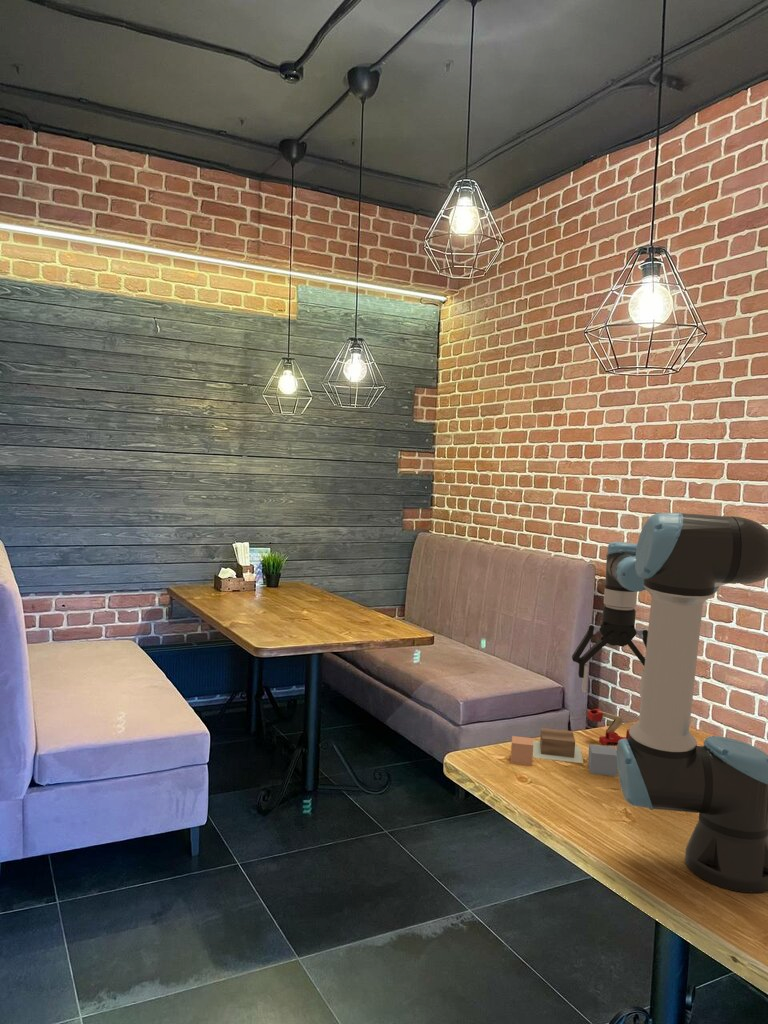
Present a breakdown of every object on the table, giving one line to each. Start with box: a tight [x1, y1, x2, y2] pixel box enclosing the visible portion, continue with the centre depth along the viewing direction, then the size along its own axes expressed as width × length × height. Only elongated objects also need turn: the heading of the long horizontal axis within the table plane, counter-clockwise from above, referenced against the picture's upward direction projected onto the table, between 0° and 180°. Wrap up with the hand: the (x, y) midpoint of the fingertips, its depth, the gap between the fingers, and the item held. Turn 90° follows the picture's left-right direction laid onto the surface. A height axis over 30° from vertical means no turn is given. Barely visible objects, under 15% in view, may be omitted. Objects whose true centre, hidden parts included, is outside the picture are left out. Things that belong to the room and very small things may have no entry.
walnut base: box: [539, 727, 576, 758], centre depth 191 cm, size 8×8×4 cm
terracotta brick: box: [510, 735, 534, 766], centre depth 183 cm, size 5×5×6 cm
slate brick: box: [587, 743, 618, 777], centre depth 180 cm, size 6×6×6 cm
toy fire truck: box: [586, 708, 630, 747], centre depth 199 cm, size 3×14×10 cm, turn 94°
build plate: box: [532, 740, 584, 764], centre depth 191 cm, size 12×12×1 cm
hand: (612, 694), depth 182 cm, fingers open, 13 cm apart
